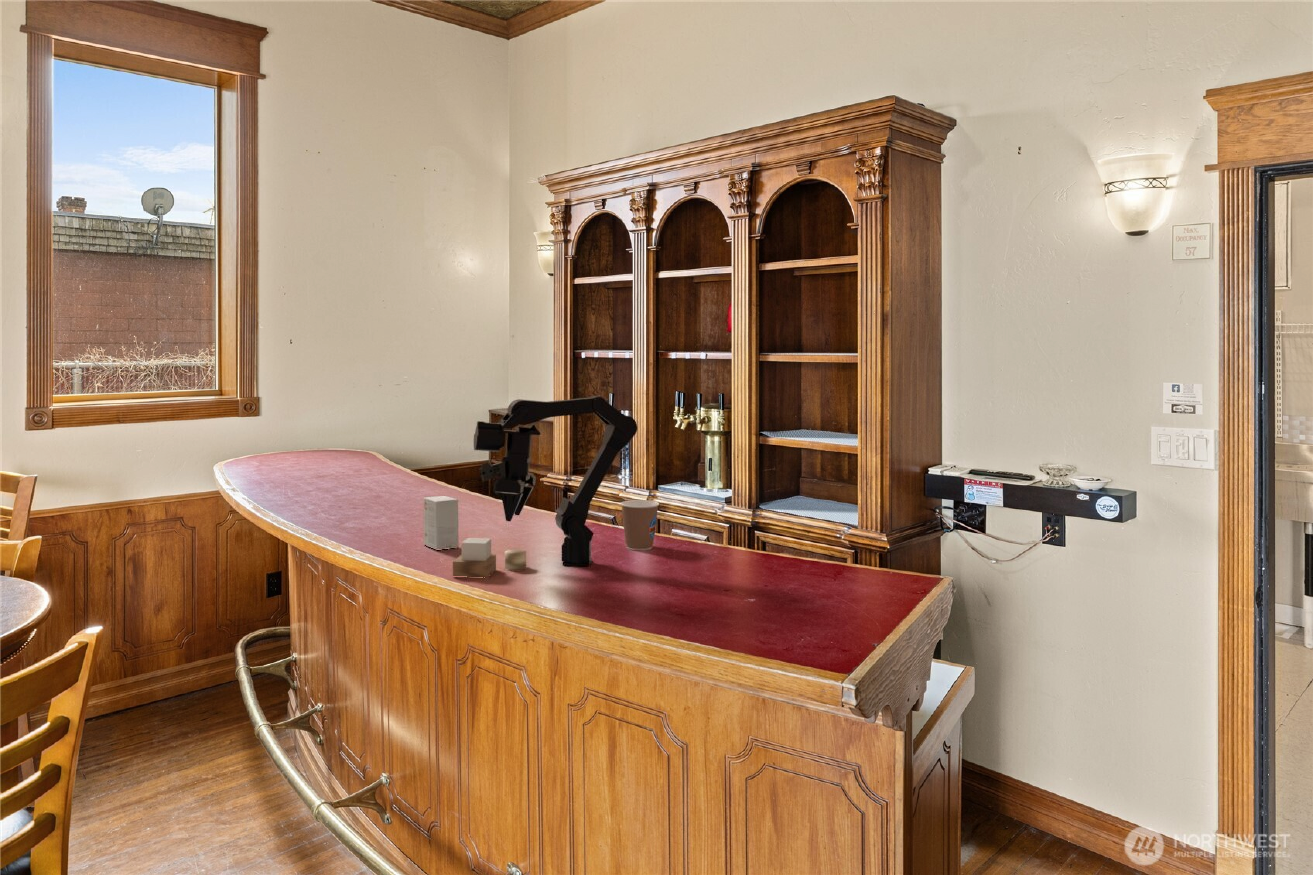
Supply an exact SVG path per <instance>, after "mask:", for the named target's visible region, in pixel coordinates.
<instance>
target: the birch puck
mask: <svg viewBox="0 0 1313 875" xmlns="http://www.w3.org/2000/svg"><path fill="white" fill-rule="evenodd" d="M505 568H506V569H508V570H507V571H511V570H513V572H514V571H517V572H519V571H524V570H526V569H527V550H524V549H517V548H515V549H514V548H513V549H508V550H505V551H504V569H505ZM506 569H505V570H506Z"/></svg>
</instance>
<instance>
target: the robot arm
mask: <svg viewBox="0 0 1313 875" xmlns="http://www.w3.org/2000/svg"><path fill="white" fill-rule="evenodd" d="M584 414H585V415H586V414H595V416H596V417H597V418H599V419H600V421H601V422H602V423H604V424H605V425H606V427H605V430H604V433H603V439H602V444H601V445H600V448H599V450H598V451H597V453H596V455H595V457H594V458H593V459H592V462H591V464H590V465H589V468H588V470H587V471H586V473H585V475H584V476H583V478H582V480H581V482H580V484H579V486H578V487H577V489H576V491H575V492H574V494H572V496H570V498H569V499H567V498H566V497H563V498H562V499H561V502H560V505H559V506H558V507H557V508H556V510H554V511H555V513H556V515H555V518H554V519H555V524H556V526H557V527H558V528H559V529H560V530H561V531H562V533H563V534H564V536H565V537H564V538H563V543H562V544H561V562H562V566H571V567H572V566H574V567H575V566H576V567H577V566H578V567H579V566H580V567H588V566H590V565H591V564H592V561H593V558H592V540H593V537H594V534H595V533H594V532H593V531H592V530H591V529H590V528H589V527H588V526H587V525H586V522H587V518H588V516H589V511H590V507H591V506H590V505H591V502H592V500H593V498H594V497H595V495H596V494H597V491H598V490H599V488H600V486H601V484H602V482H603V481H604V479H605V477H606V475H607V474H608V471H609V469H610V467H612V464H613V463H614V462H615V459H616V458H617V456H618V454H619V453H620V452H621V451H622V450H623V449H624V448H626V446H628V444H629V443H630V442H631V440H632V439H633V438H634V436H636V434H637V433H638V424H637V421H636V419H635V418H634V417H632V416H630V415H625V414H623V413H622V412H620V410H618V409H617V408H616V407H614V406H613V405H612V404H611V403H609V402H608V401H607V400H606V399H605V398H604V397H602V396H597V395H593V396H589V397H581V398H571V399H570V398H569V399H559V400H551V401H550V400H549V401H543V400H542V401H541V400H530V399H520V398H519V399H518V398H517V399H514V400H512V401H511V402H510V403H509V405H508V406H507V412H506V413H505V414H504V416H503V417H502V418H501V419H500V420H499V421H498V423H497V422H485V421H482V420H481V421H480V420H477V421H476V427H475V431H474V434H473V450H474V451H480V452H481V451H482V452H484V451H485V452H500V450H501V449H503V448H505V456H503V457H502V458H501V462H497V463H494V464H492V462H490V461H488V462H485V463H481V467H480V468H479V472H478V475H479V476H481V479H482V482H485V481H488V480H490V479H494V478H498V479H496V481H494V482H493V490H492V491H493V492H494V493H495V495H497V496H498V497H499V498H500V499H501V501H502V505H503V511H504V518H505V521H506V522H512V519H513V518H514V516H520V515H521V513H522V511H523V508H524V506H525V505H526V502H527V500H528V498H529V497H530V495H531V493H532V491H533V490H534V487H535V485H536V480H537V477H536V474H534V473H533V472H530V462H532V456H531V450H532V449H531V446H532V436H540V435H541V432H540V431H539V430H538V429H537V427H536V425H535V424H533V423H537V422H540V421H543V420H545V419H549V418H554V417H555V418H557V417H565V416H576V415H584ZM530 424H531V425H530ZM519 425H521V426H519ZM527 425H529V426H527ZM514 428H516V429H515V430H513V429H514ZM510 429H511V430H510ZM505 444H506V446H505Z"/></svg>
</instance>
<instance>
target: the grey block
mask: <svg viewBox="0 0 1313 875" xmlns="http://www.w3.org/2000/svg"><path fill="white" fill-rule="evenodd" d="M461 554H462V560H477V561H486V560H487V559H488V558H489V557H490V556H491V554H492V538H491V537H490V538H487V537H485V538H484V537H468V538H466V539H464V540H463V541H462V542H461Z"/></svg>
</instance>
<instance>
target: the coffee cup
mask: <svg viewBox="0 0 1313 875" xmlns="http://www.w3.org/2000/svg"><path fill="white" fill-rule="evenodd" d="M659 505H660V502H658V501H654V500H646V499H634V500H633V499H630V500H624V501H622V502H620V506H621V512H622V513H621V514H622V522H623V533H624V541H625V545H626V546H625V547H626V549H628V550H631V551H632V550H633V551H650V550H651V549H653V547H654V546H653V545H654V539H655V533H656V525H657V518H658V511H659V507H658V506H659Z"/></svg>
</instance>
